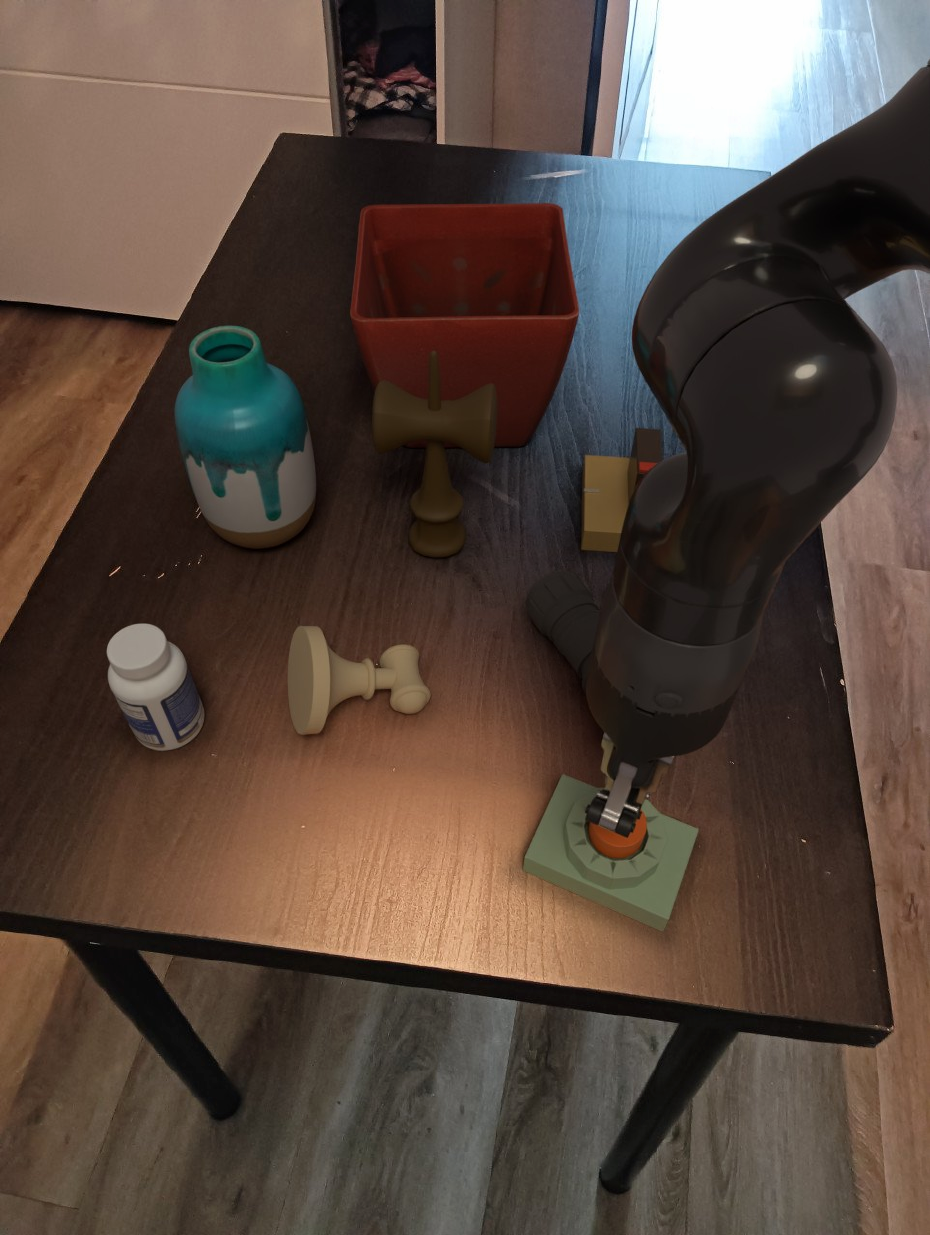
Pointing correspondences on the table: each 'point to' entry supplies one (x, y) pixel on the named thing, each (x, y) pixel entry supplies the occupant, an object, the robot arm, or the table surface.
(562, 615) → the flashlight
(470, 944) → the table surface
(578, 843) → the green button base
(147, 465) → the table surface
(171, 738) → the pill bottle
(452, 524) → the kendama
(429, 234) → the flower pot
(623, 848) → the button
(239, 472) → the vase
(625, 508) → the plate
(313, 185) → the table surface
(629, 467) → the thumb turn
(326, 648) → the door knob
